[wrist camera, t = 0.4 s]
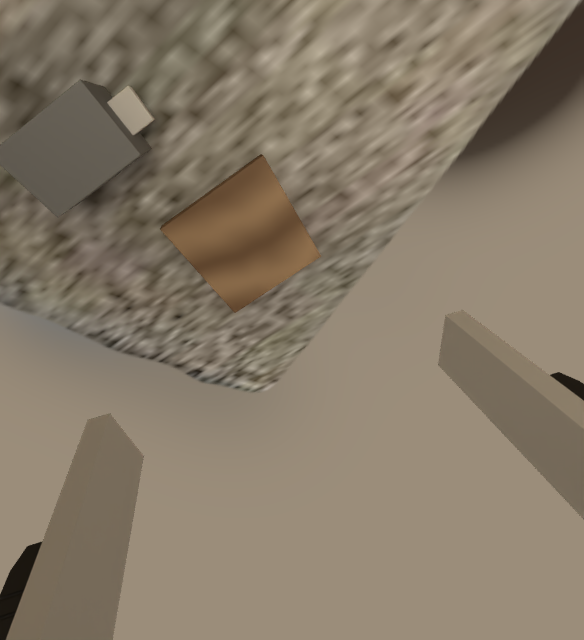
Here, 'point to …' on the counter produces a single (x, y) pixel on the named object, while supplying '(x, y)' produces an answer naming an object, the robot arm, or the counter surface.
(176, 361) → the counter surface
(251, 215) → the walnut board
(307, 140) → the counter surface
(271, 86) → the counter surface
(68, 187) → the plug
